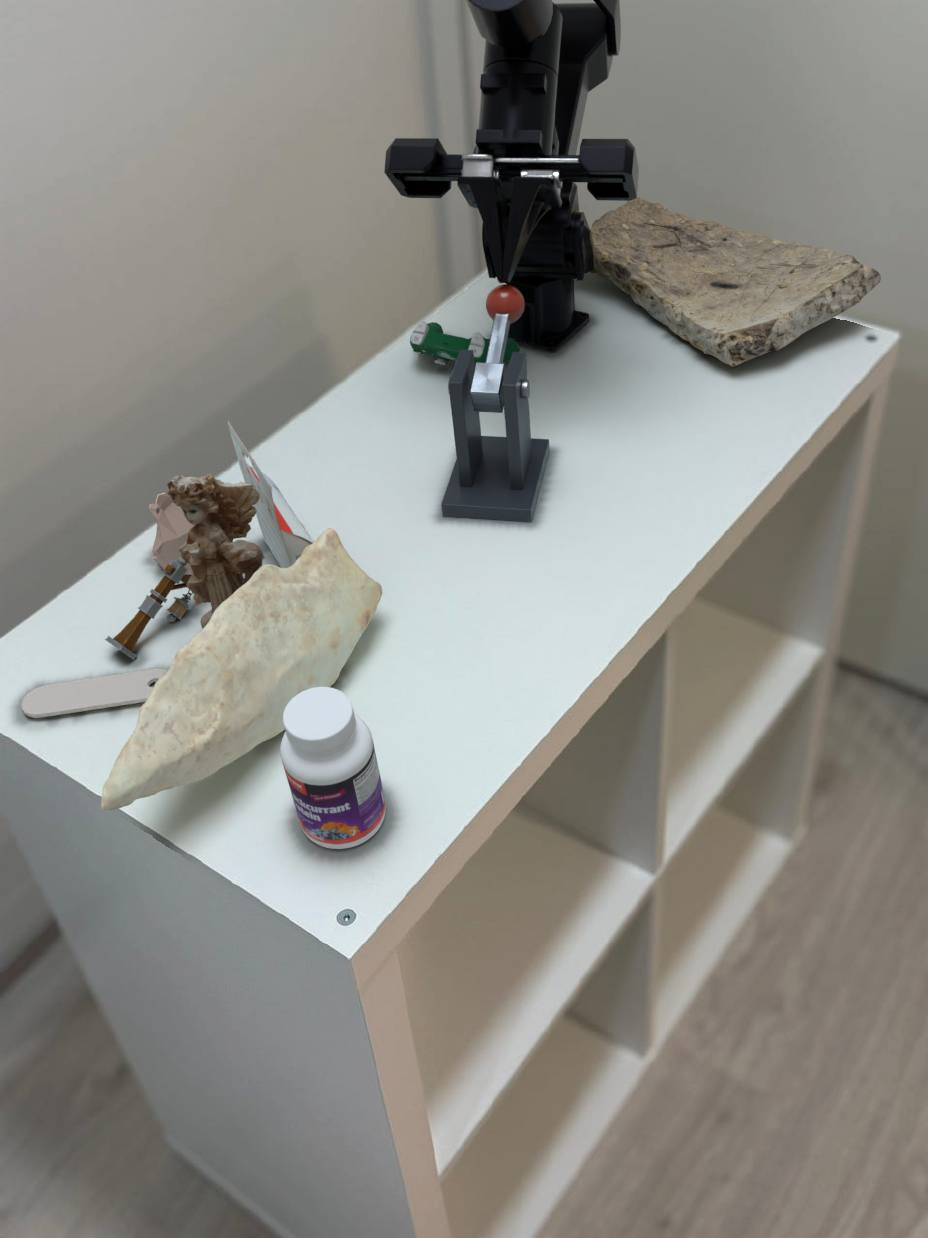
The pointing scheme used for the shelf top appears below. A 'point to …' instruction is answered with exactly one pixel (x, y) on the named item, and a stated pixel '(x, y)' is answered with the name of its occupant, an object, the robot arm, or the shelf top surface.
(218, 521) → the figurine
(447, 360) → the gaming controller
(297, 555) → the ink box
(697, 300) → the stone fragment
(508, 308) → the lever
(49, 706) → the keychain
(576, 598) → the shelf top surface
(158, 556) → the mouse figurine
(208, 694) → the arrowhead
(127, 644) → the wooden post with brackets
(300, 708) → the pill bottle
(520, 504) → the bracket
